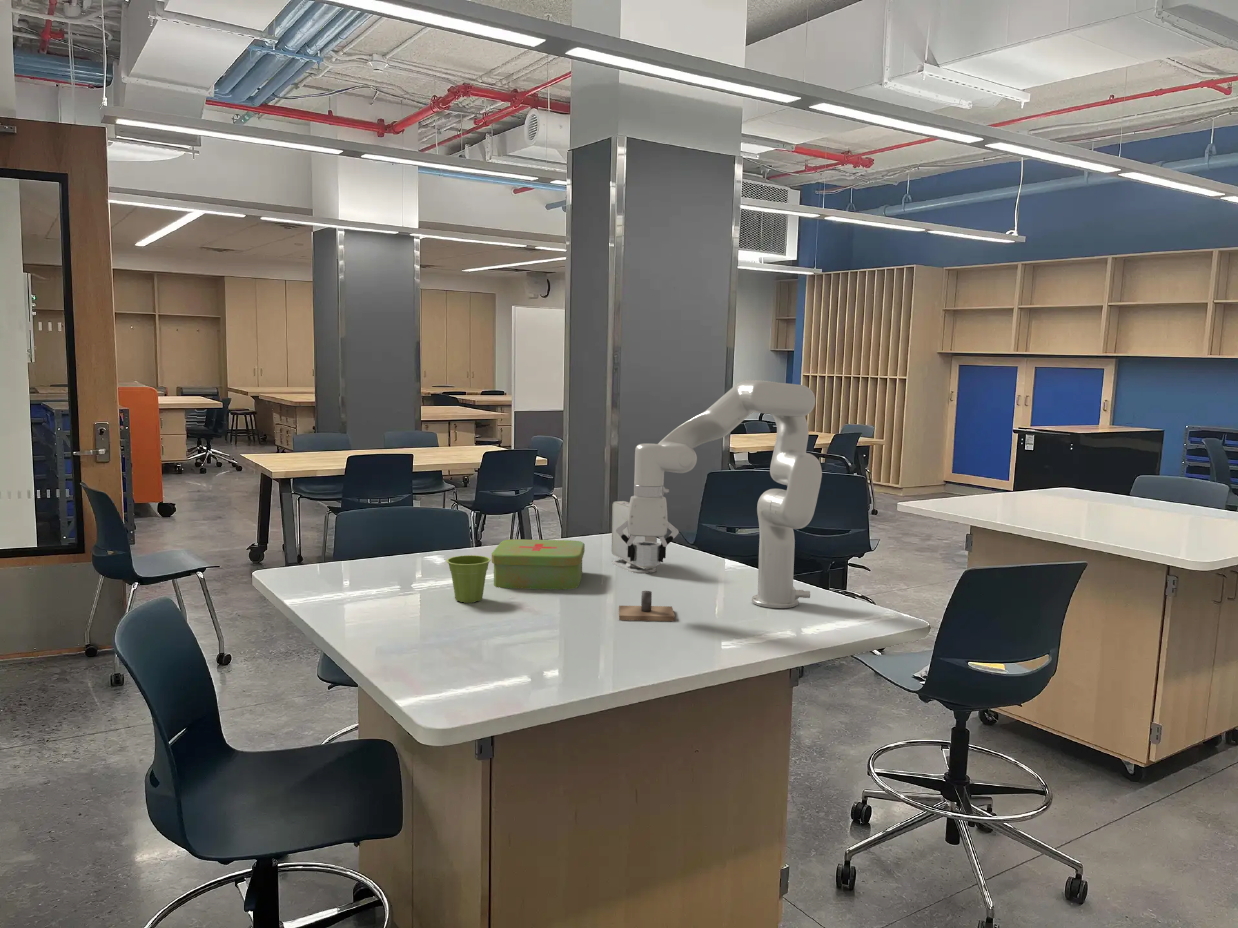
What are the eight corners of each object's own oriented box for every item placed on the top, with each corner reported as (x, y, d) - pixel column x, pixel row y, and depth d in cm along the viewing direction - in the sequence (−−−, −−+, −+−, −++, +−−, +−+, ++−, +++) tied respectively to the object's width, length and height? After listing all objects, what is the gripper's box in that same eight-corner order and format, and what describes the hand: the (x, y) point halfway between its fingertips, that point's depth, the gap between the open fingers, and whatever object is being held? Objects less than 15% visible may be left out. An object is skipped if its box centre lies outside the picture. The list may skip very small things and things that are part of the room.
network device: (605, 560, 301) (606, 501, 299) (628, 558, 305) (629, 500, 303) (638, 575, 278) (640, 512, 276) (663, 573, 282) (665, 510, 280)
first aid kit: (579, 590, 258) (580, 556, 257) (489, 589, 259) (489, 554, 258) (584, 571, 284) (585, 540, 283) (502, 569, 285) (502, 538, 284)
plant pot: (441, 597, 247) (441, 557, 246) (482, 593, 252) (482, 553, 251) (453, 607, 237) (453, 565, 235) (496, 602, 242) (496, 561, 241)
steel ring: (659, 560, 234) (659, 541, 233) (660, 566, 227) (661, 546, 226) (632, 560, 234) (633, 541, 233) (632, 565, 227) (633, 546, 226)
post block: (671, 610, 237) (672, 587, 236) (674, 620, 227) (675, 596, 226) (618, 609, 237) (619, 586, 236) (619, 620, 227) (619, 596, 226)
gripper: (681, 491, 233) (679, 558, 234) (614, 489, 232) (612, 556, 234) (683, 494, 225) (681, 564, 227) (614, 492, 225) (612, 562, 227)
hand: (646, 560), depth 230 cm, fingers closed on steel ring, 7 cm apart
